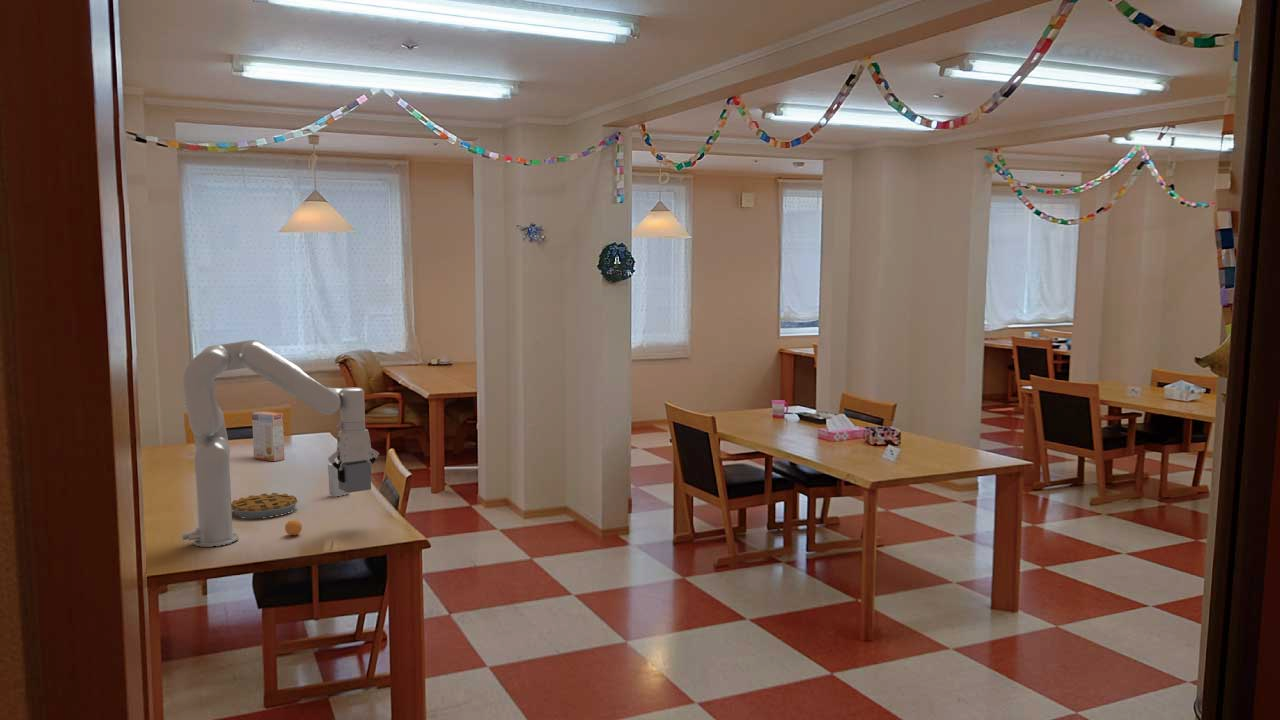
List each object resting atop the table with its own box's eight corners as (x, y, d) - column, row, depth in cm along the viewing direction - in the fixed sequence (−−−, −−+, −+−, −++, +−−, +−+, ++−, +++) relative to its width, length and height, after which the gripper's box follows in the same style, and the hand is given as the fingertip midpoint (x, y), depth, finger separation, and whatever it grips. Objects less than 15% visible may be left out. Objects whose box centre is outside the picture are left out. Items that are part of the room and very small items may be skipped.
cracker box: (285, 459, 417) (283, 412, 415) (273, 462, 412) (271, 414, 410) (265, 456, 425) (263, 410, 423) (253, 459, 420) (251, 412, 418)
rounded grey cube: (347, 492, 301) (346, 465, 300) (338, 488, 307) (337, 461, 306) (371, 489, 306) (370, 462, 305) (361, 485, 312) (360, 458, 311)
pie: (221, 511, 329) (221, 497, 329) (285, 501, 343) (284, 488, 343) (242, 524, 313) (241, 509, 312) (307, 513, 327) (307, 499, 326)
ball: (288, 538, 295) (287, 522, 295) (283, 534, 299) (282, 519, 299) (304, 535, 298) (303, 520, 298) (299, 532, 302) (298, 516, 302)
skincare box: (343, 492, 355) (341, 461, 354) (349, 494, 352) (348, 462, 351) (328, 495, 351) (327, 464, 349) (335, 497, 348) (334, 465, 347)
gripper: (330, 430, 296) (332, 486, 298) (383, 425, 307) (385, 478, 308) (321, 427, 302) (323, 481, 303) (374, 422, 313) (375, 474, 314)
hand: (354, 479), depth 306 cm, fingers closed on rounded grey cube, 7 cm apart
